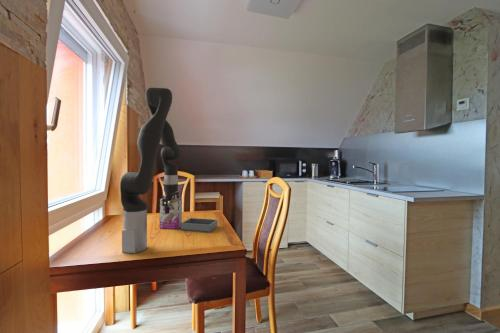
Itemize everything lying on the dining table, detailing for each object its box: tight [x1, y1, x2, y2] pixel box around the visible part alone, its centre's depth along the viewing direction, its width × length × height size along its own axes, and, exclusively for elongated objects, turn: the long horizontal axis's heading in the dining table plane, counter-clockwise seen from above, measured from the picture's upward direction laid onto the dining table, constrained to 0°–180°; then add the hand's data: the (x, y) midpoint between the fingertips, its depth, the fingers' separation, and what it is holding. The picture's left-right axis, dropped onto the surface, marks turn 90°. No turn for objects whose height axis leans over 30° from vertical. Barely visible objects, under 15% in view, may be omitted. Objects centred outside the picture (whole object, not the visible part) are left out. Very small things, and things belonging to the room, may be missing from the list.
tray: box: [180, 217, 218, 234], centre depth 138 cm, size 12×17×4 cm
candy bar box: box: [159, 198, 183, 230], centre depth 138 cm, size 11×5×16 cm, turn 84°
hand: (171, 211), depth 138 cm, fingers open, 8 cm apart
